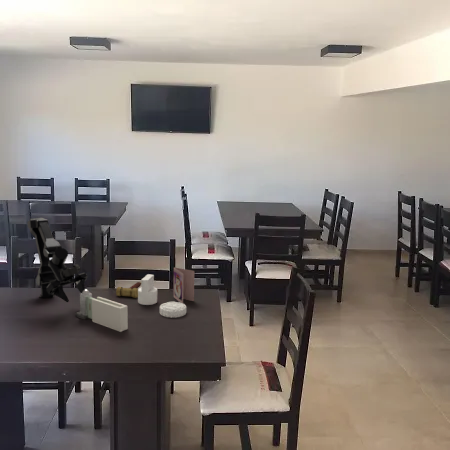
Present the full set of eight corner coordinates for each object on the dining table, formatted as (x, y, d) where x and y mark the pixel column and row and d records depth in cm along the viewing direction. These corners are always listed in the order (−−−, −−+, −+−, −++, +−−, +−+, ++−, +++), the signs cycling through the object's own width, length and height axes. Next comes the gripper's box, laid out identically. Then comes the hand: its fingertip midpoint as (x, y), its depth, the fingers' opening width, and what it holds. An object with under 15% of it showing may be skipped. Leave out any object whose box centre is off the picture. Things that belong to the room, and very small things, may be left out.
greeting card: (171, 297, 245) (172, 267, 242) (185, 295, 249) (186, 265, 246) (181, 304, 236) (181, 274, 232) (195, 302, 239) (196, 272, 236)
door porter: (75, 316, 218) (74, 289, 216) (84, 312, 222) (84, 286, 220) (84, 319, 215) (83, 292, 213) (93, 316, 219) (93, 289, 217)
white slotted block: (92, 321, 213) (91, 299, 211) (99, 318, 216) (98, 296, 214) (120, 331, 204) (120, 308, 202) (127, 328, 207) (127, 305, 205)
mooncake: (190, 310, 230) (190, 303, 229) (179, 319, 219) (179, 312, 218) (166, 306, 234) (166, 299, 233) (154, 315, 223) (154, 307, 222)
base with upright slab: (153, 305, 233) (153, 281, 231) (135, 303, 235) (135, 279, 233) (159, 299, 242) (159, 275, 240) (142, 297, 244) (142, 273, 241)
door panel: (87, 317, 216) (87, 297, 215) (90, 316, 218) (89, 296, 216) (107, 324, 210) (106, 304, 208) (109, 323, 211) (109, 303, 209)
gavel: (131, 277, 263) (149, 279, 262) (131, 286, 264) (149, 288, 262) (115, 288, 243) (135, 289, 241) (115, 297, 243) (135, 299, 242)
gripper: (49, 264, 212) (67, 295, 208) (84, 255, 227) (101, 283, 223) (38, 278, 218) (55, 308, 214) (73, 268, 233) (90, 296, 229)
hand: (76, 298), depth 220 cm, fingers open, 9 cm apart
